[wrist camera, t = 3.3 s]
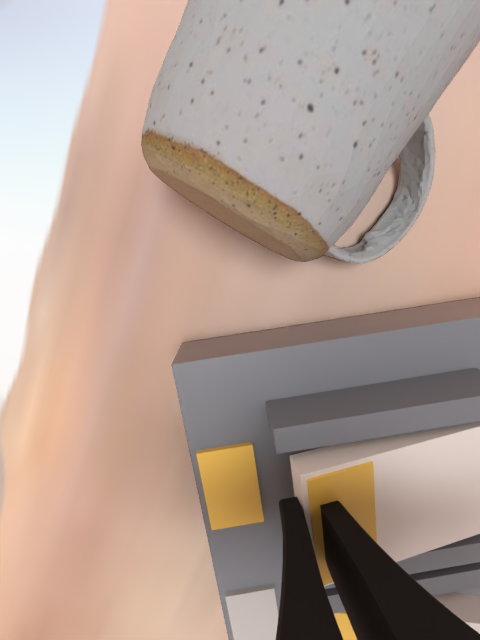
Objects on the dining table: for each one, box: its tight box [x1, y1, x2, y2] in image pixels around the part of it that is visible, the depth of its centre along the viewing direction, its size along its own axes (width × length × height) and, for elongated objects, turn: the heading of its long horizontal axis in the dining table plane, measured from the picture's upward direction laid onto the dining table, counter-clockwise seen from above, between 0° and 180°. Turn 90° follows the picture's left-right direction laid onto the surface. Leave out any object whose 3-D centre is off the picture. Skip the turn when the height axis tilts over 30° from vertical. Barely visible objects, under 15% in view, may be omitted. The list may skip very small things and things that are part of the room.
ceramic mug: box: [141, 0, 480, 263], centre depth 9 cm, size 11×8×8 cm
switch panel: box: [172, 297, 480, 640], centre depth 15 cm, size 16×28×5 cm, turn 8°
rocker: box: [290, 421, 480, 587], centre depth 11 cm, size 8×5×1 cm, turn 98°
